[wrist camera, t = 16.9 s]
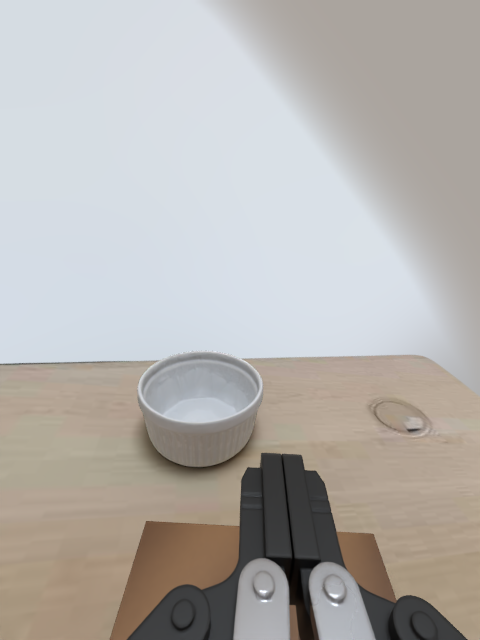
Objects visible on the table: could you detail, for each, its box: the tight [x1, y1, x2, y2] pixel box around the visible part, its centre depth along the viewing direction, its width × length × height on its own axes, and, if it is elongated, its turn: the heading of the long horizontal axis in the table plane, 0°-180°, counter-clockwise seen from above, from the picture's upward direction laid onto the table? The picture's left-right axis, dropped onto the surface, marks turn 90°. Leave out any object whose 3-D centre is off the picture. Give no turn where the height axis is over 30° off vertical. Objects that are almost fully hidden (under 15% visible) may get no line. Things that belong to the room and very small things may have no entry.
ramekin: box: [137, 351, 263, 467], centre depth 35 cm, size 13×13×7 cm
